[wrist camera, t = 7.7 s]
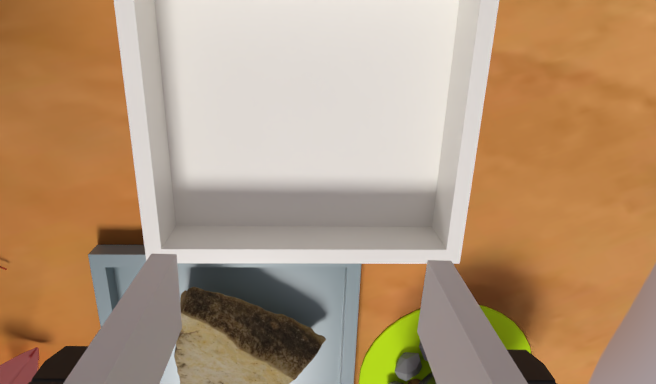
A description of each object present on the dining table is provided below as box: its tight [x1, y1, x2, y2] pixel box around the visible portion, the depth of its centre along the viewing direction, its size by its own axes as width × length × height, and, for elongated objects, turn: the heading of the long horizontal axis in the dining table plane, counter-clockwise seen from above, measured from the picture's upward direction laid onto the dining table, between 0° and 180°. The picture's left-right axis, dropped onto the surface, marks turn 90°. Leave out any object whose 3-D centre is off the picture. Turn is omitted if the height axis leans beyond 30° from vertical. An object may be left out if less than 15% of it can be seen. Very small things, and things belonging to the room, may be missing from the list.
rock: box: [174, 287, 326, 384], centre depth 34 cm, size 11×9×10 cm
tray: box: [88, 245, 361, 384], centre depth 35 cm, size 19×19×2 cm
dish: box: [114, 0, 499, 264], centre depth 27 cm, size 20×19×4 cm
